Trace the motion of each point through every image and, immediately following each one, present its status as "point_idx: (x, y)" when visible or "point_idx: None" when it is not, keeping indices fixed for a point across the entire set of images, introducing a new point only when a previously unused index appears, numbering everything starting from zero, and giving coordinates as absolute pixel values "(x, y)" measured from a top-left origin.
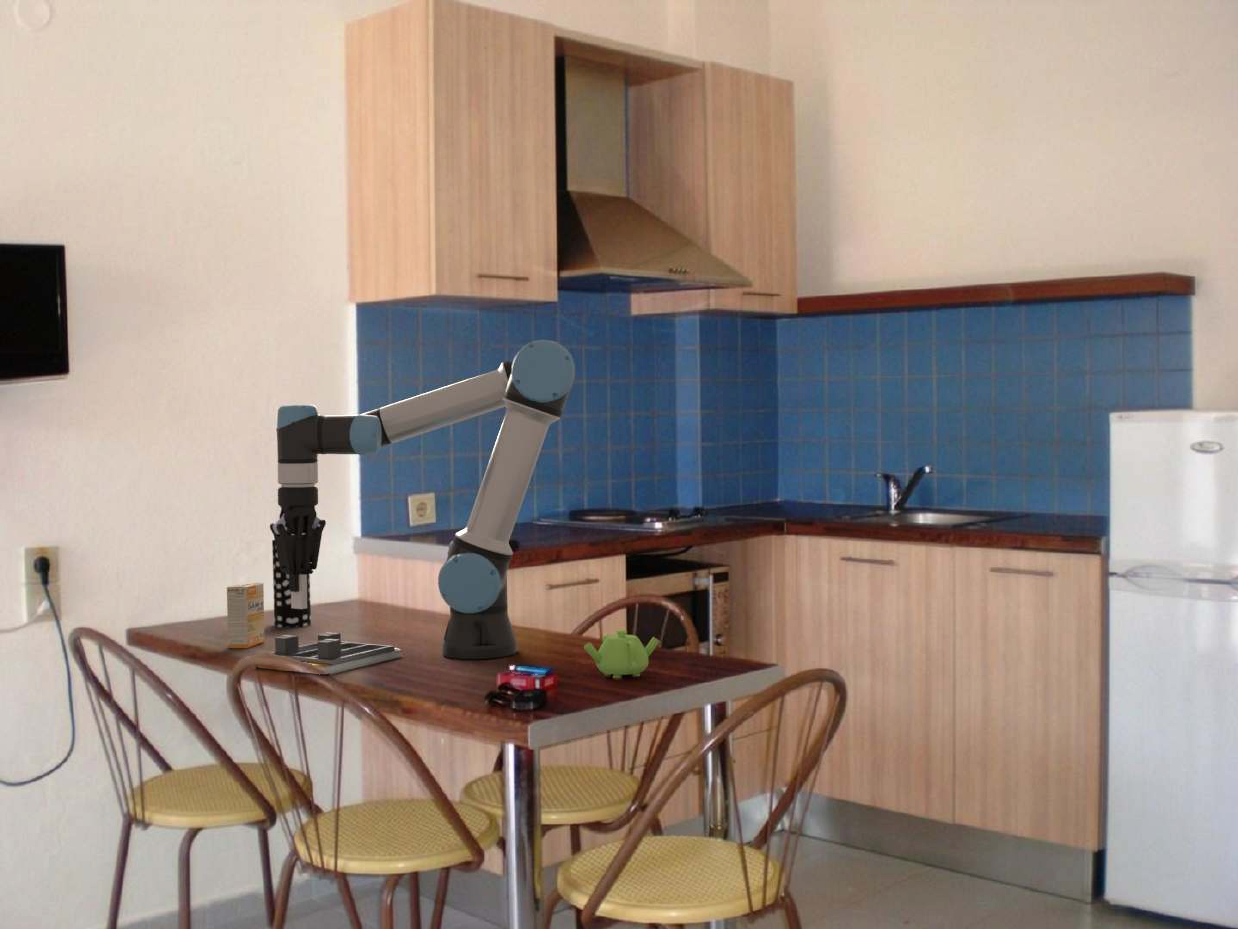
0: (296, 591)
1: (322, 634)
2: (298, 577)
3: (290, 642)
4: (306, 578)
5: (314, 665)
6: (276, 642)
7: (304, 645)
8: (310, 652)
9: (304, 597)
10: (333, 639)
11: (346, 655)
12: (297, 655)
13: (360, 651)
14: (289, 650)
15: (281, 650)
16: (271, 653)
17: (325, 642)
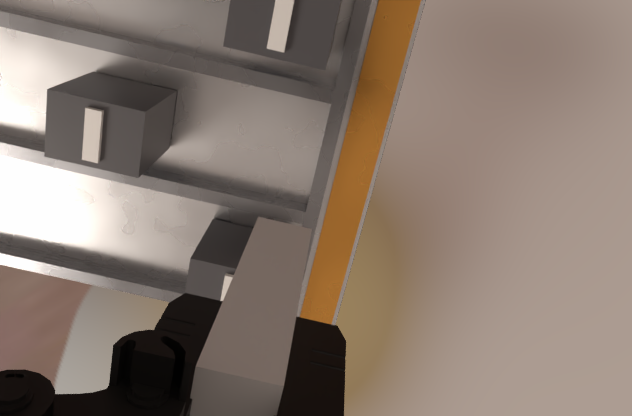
0: (326, 324)
1: (115, 163)
2: (287, 399)
3: None
4: (212, 341)
5: (414, 23)
6: None
7: (71, 276)
8: (183, 181)
9: (273, 258)
10: (242, 13)
11: (121, 20)
12: (263, 199)
13: (7, 7)
14: None
15: None
16: None
17: (338, 8)
